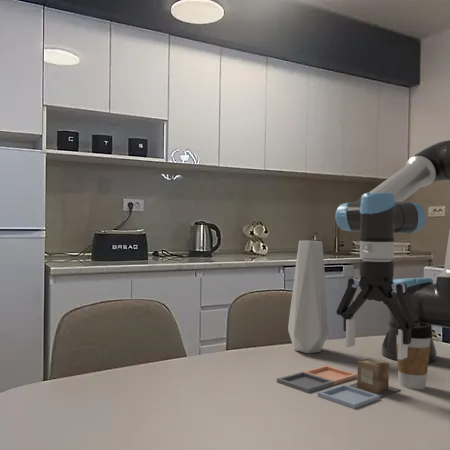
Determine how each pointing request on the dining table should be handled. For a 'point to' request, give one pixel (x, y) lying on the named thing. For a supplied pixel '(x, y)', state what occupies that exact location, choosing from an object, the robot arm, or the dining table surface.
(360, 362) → the letter block
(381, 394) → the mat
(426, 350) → the coffee cup
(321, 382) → the tray charcoal
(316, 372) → the tray terracotta
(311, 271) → the vase
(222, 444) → the dining table surface
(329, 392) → the tray slate
